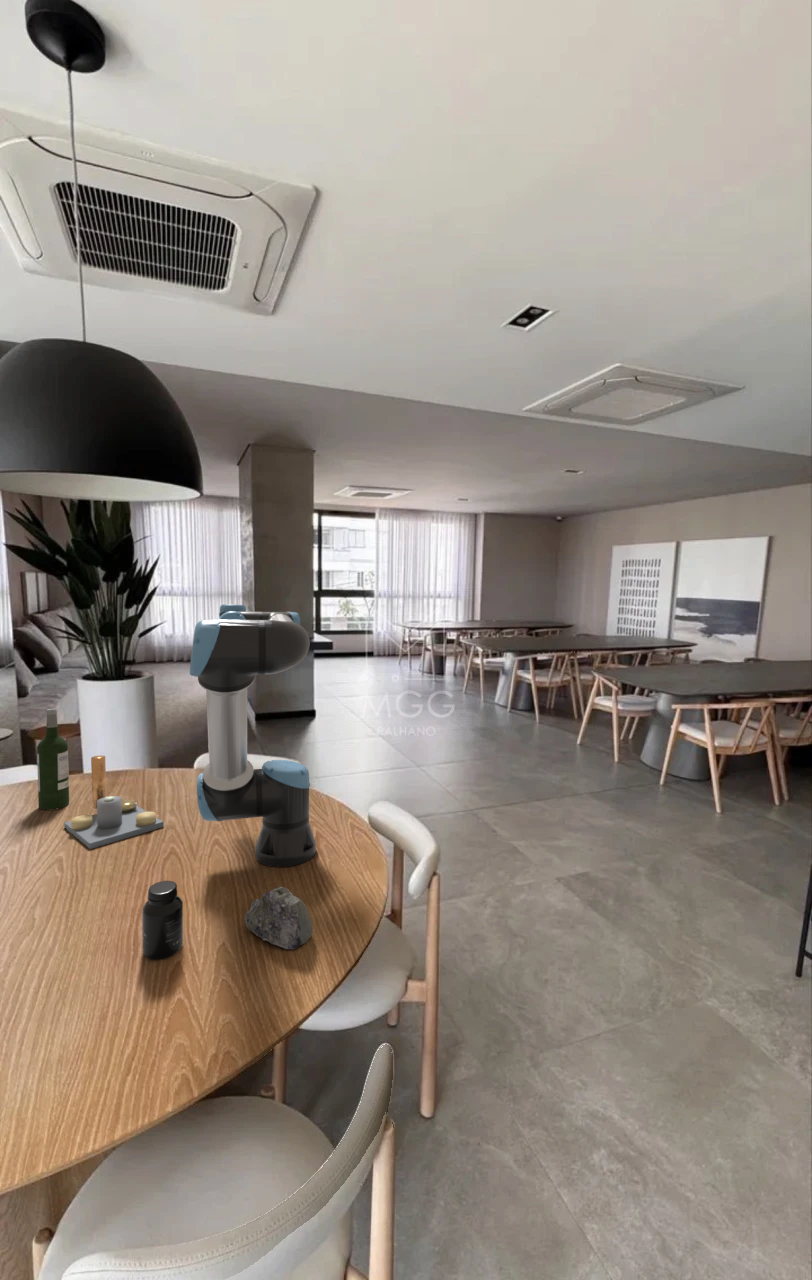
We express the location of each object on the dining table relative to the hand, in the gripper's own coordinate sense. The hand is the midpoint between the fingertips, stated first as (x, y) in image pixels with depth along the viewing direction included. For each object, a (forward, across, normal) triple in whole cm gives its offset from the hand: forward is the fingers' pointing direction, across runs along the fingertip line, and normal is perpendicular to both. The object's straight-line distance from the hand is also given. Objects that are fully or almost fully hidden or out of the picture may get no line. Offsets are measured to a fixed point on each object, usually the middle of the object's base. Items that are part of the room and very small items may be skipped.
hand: (232, 735), depth 162 cm
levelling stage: (+24, 0, +32) cm, 40 cm away
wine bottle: (+24, +23, +52) cm, 61 cm away
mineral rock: (+26, -63, -7) cm, 69 cm away
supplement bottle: (+26, -62, +14) cm, 68 cm away
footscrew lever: (+22, +9, +33) cm, 41 cm away
